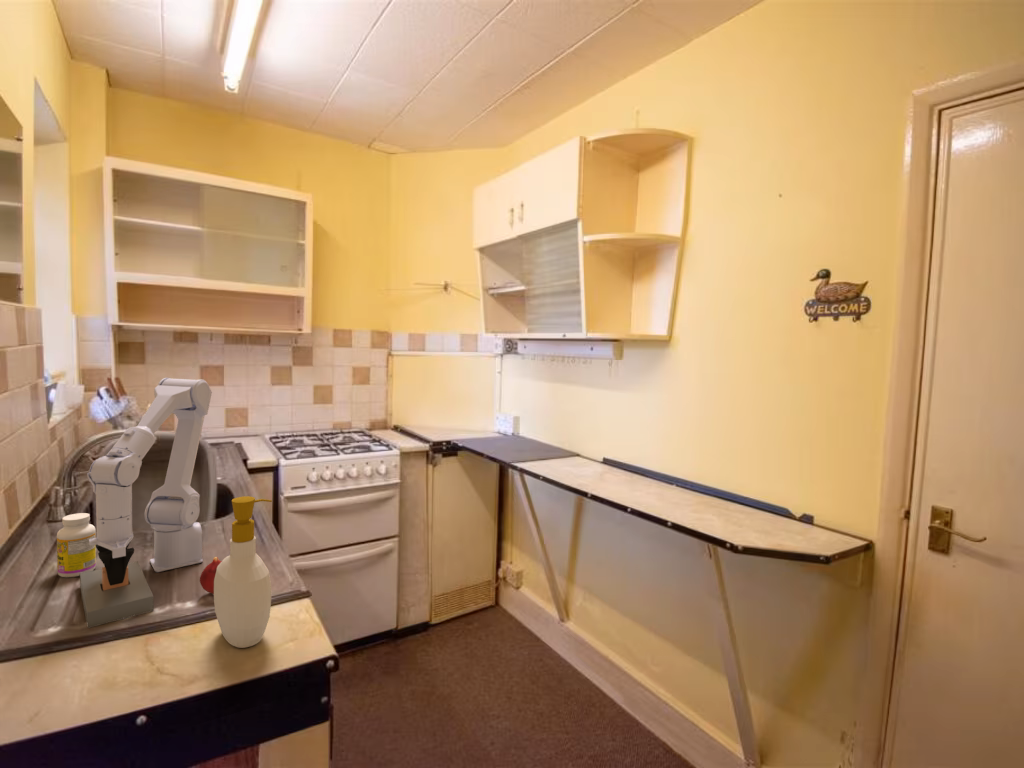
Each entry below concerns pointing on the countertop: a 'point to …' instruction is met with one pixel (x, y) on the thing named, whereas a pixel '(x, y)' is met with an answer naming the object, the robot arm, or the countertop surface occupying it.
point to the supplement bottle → (76, 546)
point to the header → (115, 596)
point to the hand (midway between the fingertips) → (115, 579)
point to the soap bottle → (242, 582)
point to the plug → (106, 583)
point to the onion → (209, 575)
